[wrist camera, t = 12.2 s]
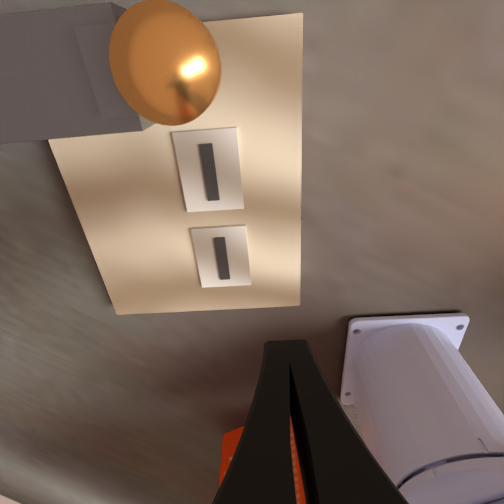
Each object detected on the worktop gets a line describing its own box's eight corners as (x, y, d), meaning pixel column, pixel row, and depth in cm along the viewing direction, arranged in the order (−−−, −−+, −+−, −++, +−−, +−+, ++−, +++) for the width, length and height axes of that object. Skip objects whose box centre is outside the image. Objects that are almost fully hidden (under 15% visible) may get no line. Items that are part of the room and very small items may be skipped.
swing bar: (222, 4, 11) (208, -21, 8) (233, 113, 13) (226, 129, 9) (-162, 47, 12) (-324, 41, 8) (-100, 144, 13) (-213, 169, 10)
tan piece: (298, 295, 21) (309, 355, 16) (122, 304, 21) (88, 365, 17) (299, 16, 13) (321, -8, 9) (23, 41, 14) (-83, 30, 9)
